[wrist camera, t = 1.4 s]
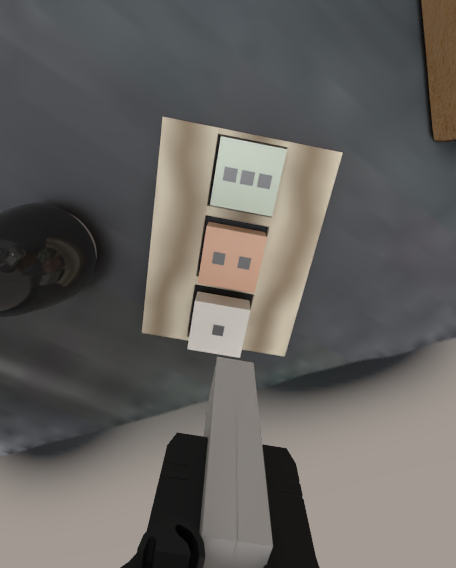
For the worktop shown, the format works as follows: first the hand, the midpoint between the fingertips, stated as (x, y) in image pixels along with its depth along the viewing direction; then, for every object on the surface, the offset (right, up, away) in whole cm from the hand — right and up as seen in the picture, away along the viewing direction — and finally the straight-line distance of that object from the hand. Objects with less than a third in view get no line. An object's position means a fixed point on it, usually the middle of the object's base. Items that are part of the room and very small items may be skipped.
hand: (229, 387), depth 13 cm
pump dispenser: (-19, +9, +23) cm, 31 cm away
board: (0, +8, +23) cm, 24 cm away
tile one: (-1, 0, +23) cm, 24 cm away
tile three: (+2, +15, +18) cm, 24 cm away
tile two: (0, +8, +21) cm, 22 cm away
